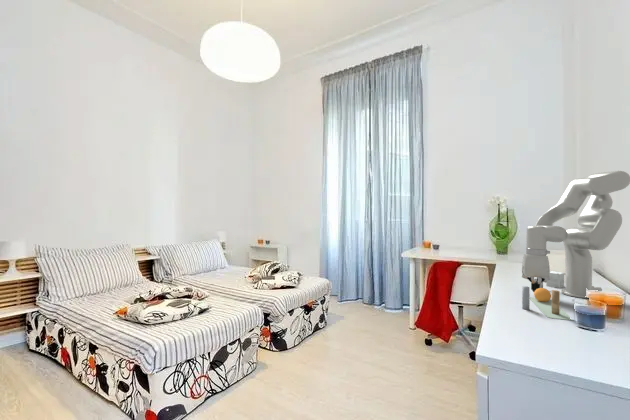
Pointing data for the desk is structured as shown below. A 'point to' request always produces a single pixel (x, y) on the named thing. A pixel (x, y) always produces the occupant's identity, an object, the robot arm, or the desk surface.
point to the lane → (549, 309)
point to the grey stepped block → (541, 283)
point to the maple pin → (555, 302)
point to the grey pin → (525, 298)
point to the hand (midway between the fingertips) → (535, 291)
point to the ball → (542, 295)
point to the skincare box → (556, 280)
